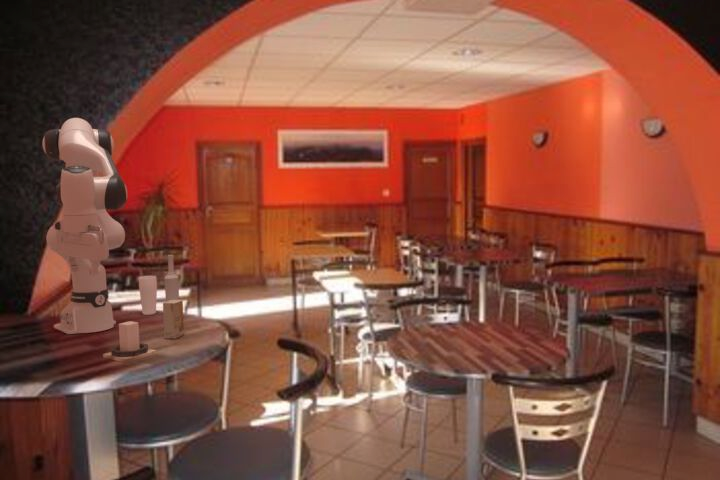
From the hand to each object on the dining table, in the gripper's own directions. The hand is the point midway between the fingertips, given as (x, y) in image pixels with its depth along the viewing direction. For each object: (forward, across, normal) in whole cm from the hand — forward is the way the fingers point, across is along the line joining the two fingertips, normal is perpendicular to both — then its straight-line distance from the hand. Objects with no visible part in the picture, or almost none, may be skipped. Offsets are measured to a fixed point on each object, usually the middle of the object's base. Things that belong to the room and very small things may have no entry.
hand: (84, 273), depth 168 cm
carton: (+27, -1, -12) cm, 29 cm away
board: (+28, -1, -12) cm, 30 cm away
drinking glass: (+31, +43, -52) cm, 74 cm away
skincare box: (+29, +6, -34) cm, 45 cm away
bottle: (+30, +26, -50) cm, 64 cm away
